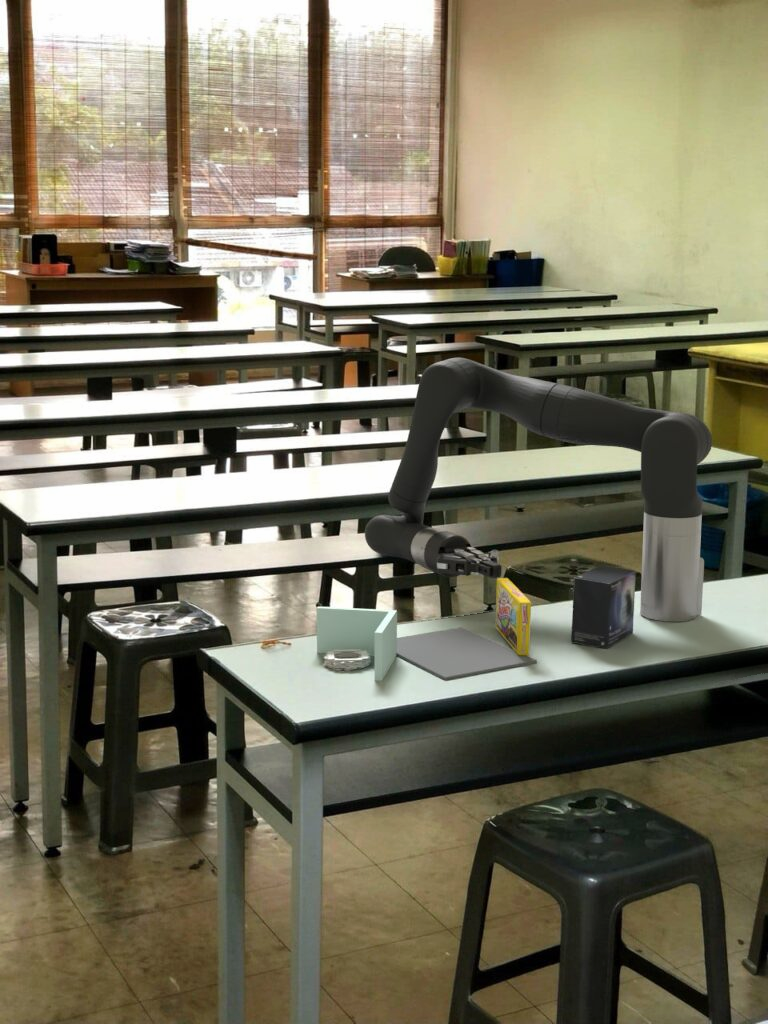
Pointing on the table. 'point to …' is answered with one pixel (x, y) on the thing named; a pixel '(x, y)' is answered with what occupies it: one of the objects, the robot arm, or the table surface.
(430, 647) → the mat
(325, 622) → the right angle wall
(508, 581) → the candy box
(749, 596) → the table surface
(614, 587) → the small box
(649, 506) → the robot arm
